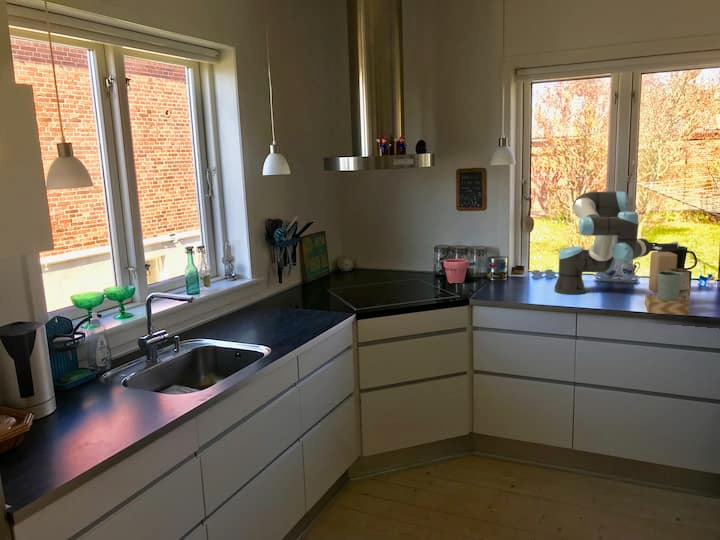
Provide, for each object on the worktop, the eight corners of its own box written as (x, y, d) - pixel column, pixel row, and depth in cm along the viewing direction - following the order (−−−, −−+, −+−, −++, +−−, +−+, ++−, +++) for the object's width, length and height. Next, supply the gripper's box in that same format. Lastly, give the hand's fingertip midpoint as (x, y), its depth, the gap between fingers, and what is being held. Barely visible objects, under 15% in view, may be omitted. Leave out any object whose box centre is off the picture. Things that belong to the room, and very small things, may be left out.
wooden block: (667, 288, 317) (670, 251, 313) (675, 293, 307) (678, 254, 304) (647, 289, 318) (650, 251, 314) (655, 293, 308) (657, 254, 305)
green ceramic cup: (671, 296, 278) (673, 270, 276) (685, 301, 268) (687, 274, 266) (651, 297, 277) (652, 271, 275) (664, 302, 267) (666, 275, 265)
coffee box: (690, 304, 282) (692, 271, 279) (677, 305, 282) (679, 271, 279) (678, 300, 291) (680, 267, 288) (665, 301, 291) (668, 268, 288)
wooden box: (648, 312, 269) (648, 301, 268) (644, 304, 284) (645, 294, 283) (688, 315, 264) (689, 303, 263) (682, 306, 279) (683, 295, 278)
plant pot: (444, 279, 354) (444, 258, 352) (468, 280, 352) (468, 258, 349) (442, 284, 341) (442, 262, 338) (467, 285, 338) (468, 262, 336)
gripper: (608, 254, 259) (632, 248, 272) (668, 260, 240) (690, 254, 253) (609, 236, 257) (633, 232, 271) (669, 242, 239) (691, 236, 252)
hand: (660, 242), depth 262 cm, fingers open, 13 cm apart
